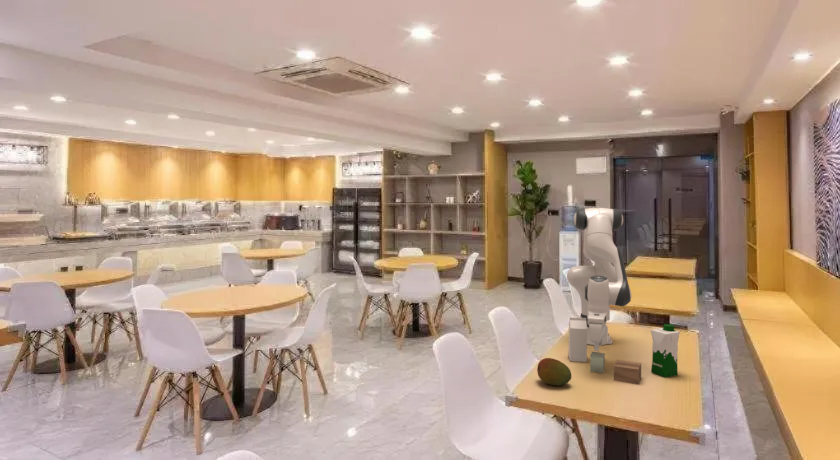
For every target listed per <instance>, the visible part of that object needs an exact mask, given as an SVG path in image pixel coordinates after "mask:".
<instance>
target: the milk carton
mask: <svg viewBox="0 0 840 460" xmlns="http://www.w3.org/2000/svg"><path fill="white" fill-rule="evenodd" d="M568 358H569V361H570V362H579V363H581V362H582V363H587V362H588V344H587V323H586V318H580V317H569V322H568Z"/></svg>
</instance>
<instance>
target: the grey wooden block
mask: <svg viewBox="0 0 840 460" xmlns="http://www.w3.org/2000/svg"><path fill="white" fill-rule="evenodd" d="M605 357H606V353H605V352H599V351H591V352H590V356H589V358H590V361H589V363H590V364H589V366H590V369H589V370H590V372H591V373H599V374H604V372H605V364H606V363H605V362H606V361H605Z"/></svg>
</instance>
